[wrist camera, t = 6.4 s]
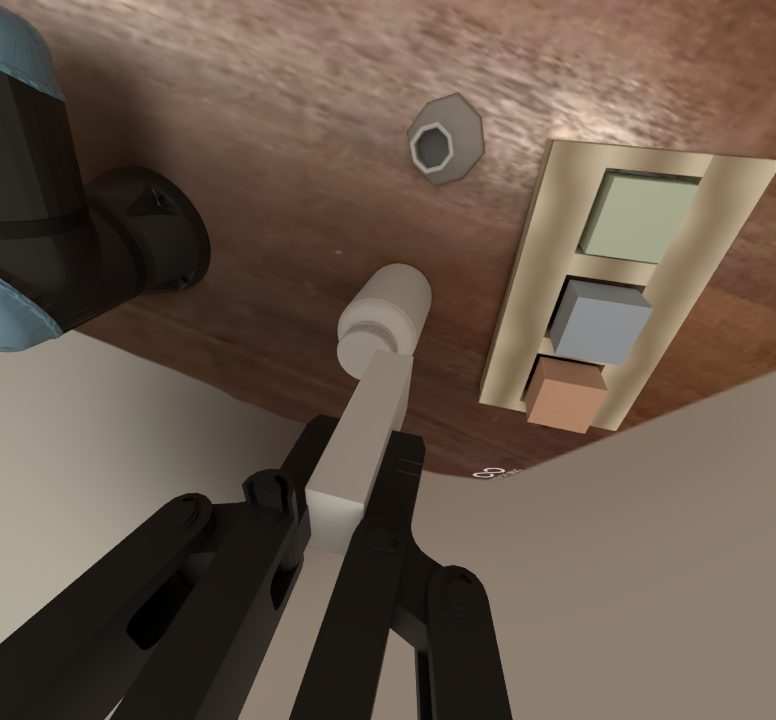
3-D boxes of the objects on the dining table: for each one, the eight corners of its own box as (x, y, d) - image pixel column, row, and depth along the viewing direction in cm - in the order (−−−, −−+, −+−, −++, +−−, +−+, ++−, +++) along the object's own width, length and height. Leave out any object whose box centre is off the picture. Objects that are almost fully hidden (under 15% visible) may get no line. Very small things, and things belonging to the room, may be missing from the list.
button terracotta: (524, 397, 43) (527, 421, 39) (540, 356, 39) (544, 378, 36) (577, 408, 42) (584, 433, 38) (598, 367, 38) (608, 391, 35)
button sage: (576, 240, 35) (585, 253, 31) (601, 171, 31) (614, 177, 28) (642, 249, 34) (659, 263, 30) (676, 178, 30) (699, 186, 27)
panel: (480, 383, 48) (479, 402, 44) (547, 138, 32) (554, 140, 28) (607, 408, 45) (615, 431, 42) (750, 156, 29) (782, 161, 26)
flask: (498, 156, 33) (500, 167, 25) (431, 198, 37) (414, 220, 29) (463, 74, 31) (453, 58, 23) (394, 128, 34) (364, 130, 26)
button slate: (549, 333, 38) (554, 354, 34) (569, 279, 34) (578, 296, 31) (609, 343, 37) (621, 366, 33) (637, 289, 33) (653, 308, 30)
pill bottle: (417, 250, 40) (384, 306, 28) (442, 311, 43) (423, 385, 31) (357, 274, 43) (305, 333, 31) (385, 329, 47) (348, 402, 35)
